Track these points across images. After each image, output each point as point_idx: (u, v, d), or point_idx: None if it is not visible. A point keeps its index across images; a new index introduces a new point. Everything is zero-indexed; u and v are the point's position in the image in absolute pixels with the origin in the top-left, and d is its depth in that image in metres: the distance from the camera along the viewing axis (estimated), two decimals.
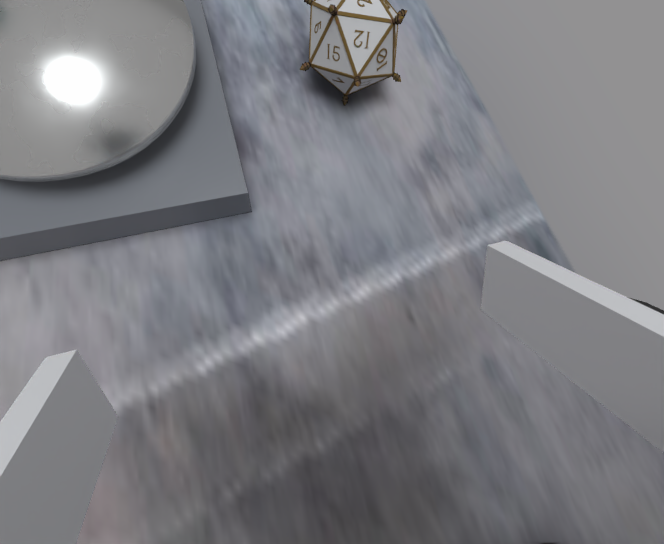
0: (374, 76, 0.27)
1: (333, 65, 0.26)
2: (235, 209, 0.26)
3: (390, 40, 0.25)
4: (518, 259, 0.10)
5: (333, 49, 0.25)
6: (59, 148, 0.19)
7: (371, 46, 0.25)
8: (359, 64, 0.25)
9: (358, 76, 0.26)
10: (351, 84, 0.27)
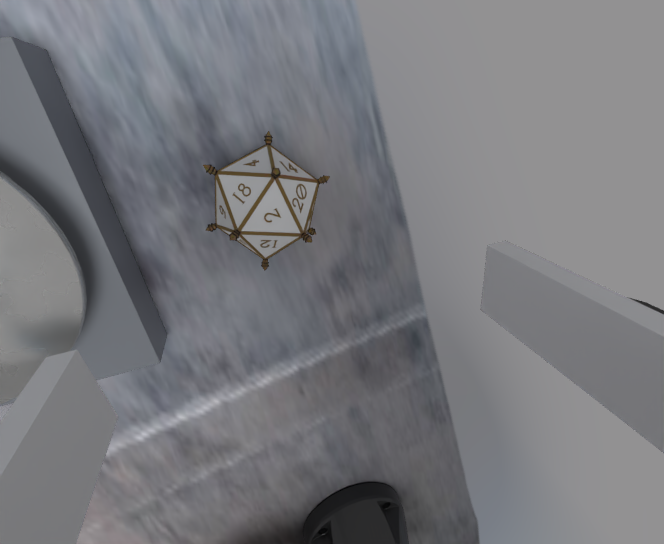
0: None
1: (241, 242, 0.25)
2: None
3: None
4: (518, 259, 0.10)
5: (239, 239, 0.24)
6: None
7: (279, 246, 0.24)
8: (267, 254, 0.25)
9: (266, 259, 0.25)
10: None
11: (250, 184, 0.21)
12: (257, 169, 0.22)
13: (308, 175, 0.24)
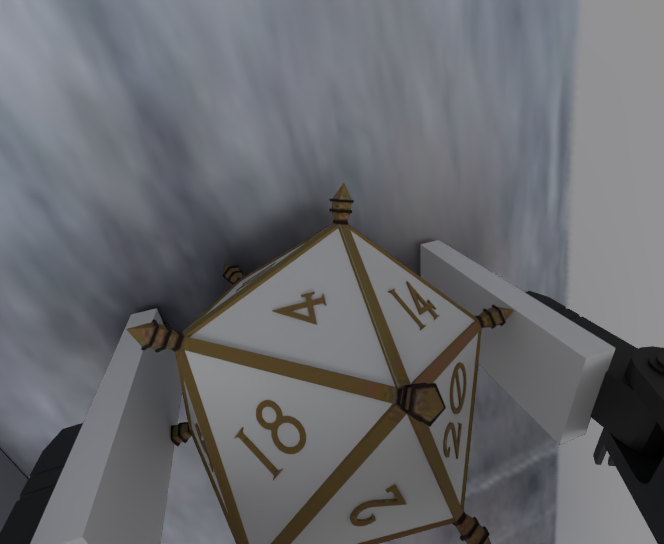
0: None
1: None
2: None
3: None
4: (443, 257, 0.11)
5: None
6: None
7: None
8: None
9: None
10: None
11: (303, 410, 0.06)
12: (325, 343, 0.06)
13: (457, 311, 0.08)
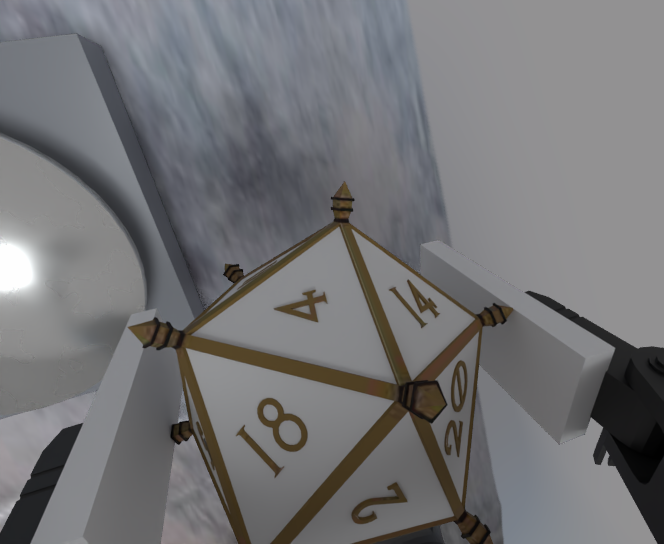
0: None
1: None
2: None
3: None
4: (442, 257, 0.11)
5: None
6: (38, 389, 0.22)
7: None
8: None
9: None
10: None
11: (304, 407, 0.06)
12: (326, 341, 0.06)
13: (458, 309, 0.08)
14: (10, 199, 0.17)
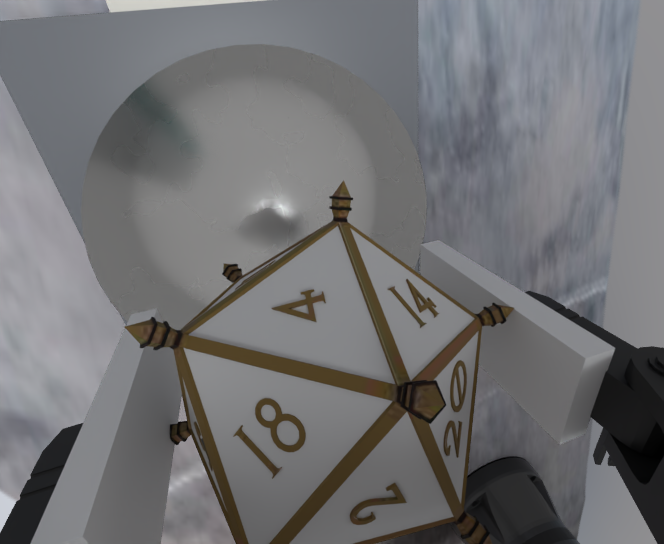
0: None
1: None
2: None
3: None
4: (442, 257, 0.11)
5: None
6: None
7: None
8: None
9: None
10: None
11: (302, 408, 0.06)
12: (324, 341, 0.06)
13: (457, 309, 0.08)
14: (353, 148, 0.17)
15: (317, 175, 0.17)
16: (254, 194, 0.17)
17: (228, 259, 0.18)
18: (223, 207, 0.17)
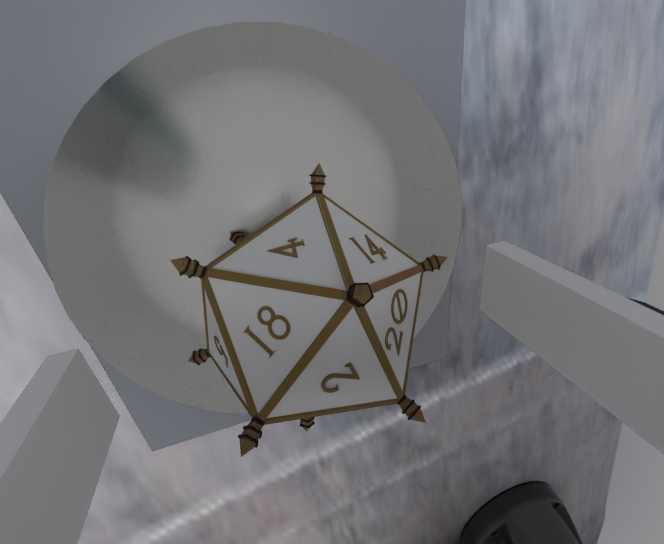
0: None
1: None
2: None
3: None
4: (517, 259, 0.11)
5: None
6: None
7: None
8: None
9: None
10: None
11: (288, 310, 0.09)
12: (302, 268, 0.09)
13: (404, 257, 0.11)
14: (379, 153, 0.14)
15: (335, 185, 0.14)
16: (259, 209, 0.14)
17: None
18: (221, 225, 0.14)
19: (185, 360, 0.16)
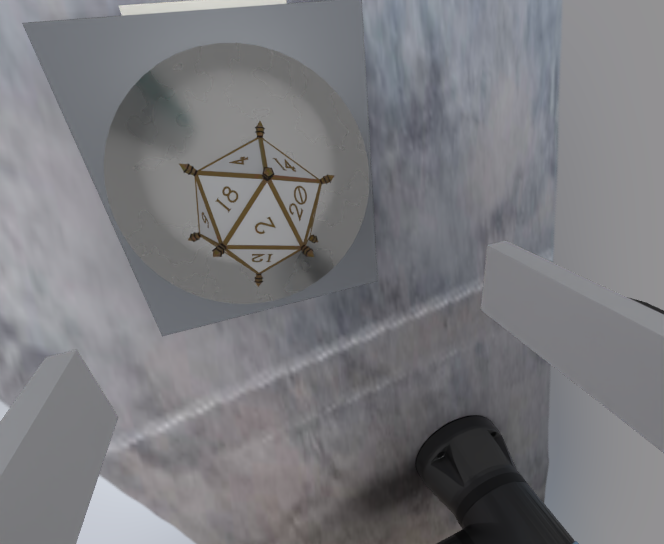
0: None
1: (229, 254, 0.21)
2: None
3: None
4: (518, 259, 0.10)
5: None
6: (275, 284, 0.28)
7: (274, 260, 0.20)
8: (260, 268, 0.21)
9: (260, 274, 0.21)
10: None
11: (237, 187, 0.17)
12: (245, 168, 0.18)
13: (308, 174, 0.20)
14: (307, 122, 0.23)
15: (280, 142, 0.23)
16: None
17: None
18: None
19: (186, 257, 0.25)
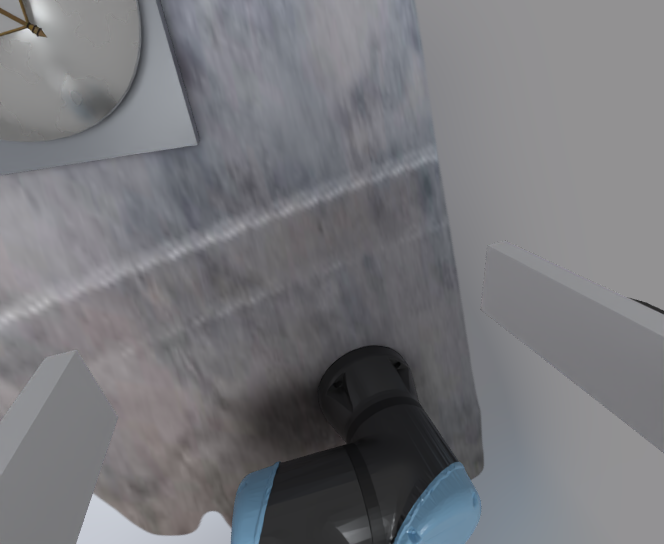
0: None
1: None
2: None
3: None
4: (518, 259, 0.10)
5: None
6: (42, 118, 0.24)
7: None
8: None
9: None
10: None
11: None
12: None
13: None
14: None
15: None
16: None
17: None
18: None
19: None
